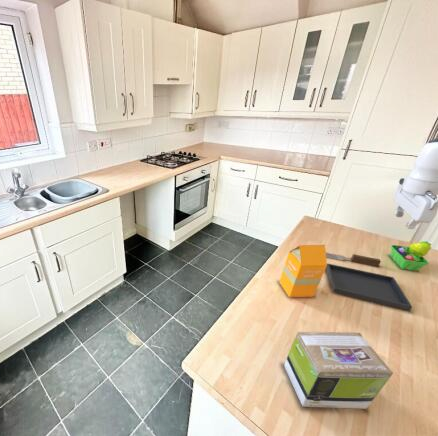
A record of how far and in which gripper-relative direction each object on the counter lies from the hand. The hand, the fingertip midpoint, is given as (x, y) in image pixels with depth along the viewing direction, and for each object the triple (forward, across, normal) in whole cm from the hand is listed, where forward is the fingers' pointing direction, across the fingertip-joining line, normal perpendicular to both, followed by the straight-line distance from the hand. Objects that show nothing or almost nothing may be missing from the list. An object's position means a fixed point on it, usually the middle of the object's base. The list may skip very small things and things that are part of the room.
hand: (403, 221), depth 89 cm
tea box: (+22, -61, +29) cm, 71 cm away
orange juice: (+21, -26, +32) cm, 47 cm away
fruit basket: (+22, +8, -11) cm, 26 cm away
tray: (+22, -15, +9) cm, 28 cm away
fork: (+22, +2, +9) cm, 24 cm away
